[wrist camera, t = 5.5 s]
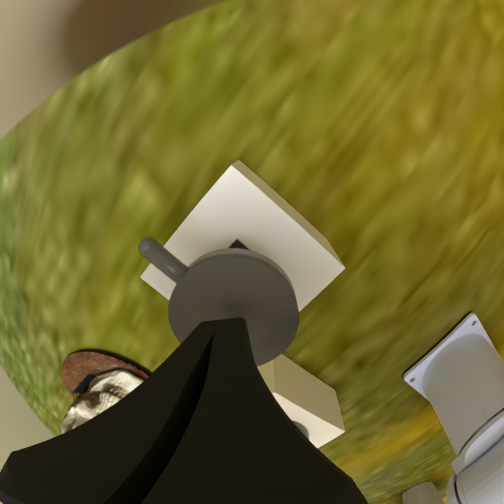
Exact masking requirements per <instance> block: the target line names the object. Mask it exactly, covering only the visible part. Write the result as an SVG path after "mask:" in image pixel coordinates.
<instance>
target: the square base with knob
mask: <svg viewBox="0 0 504 504" xmlns="http://www.w3.org/2000/svg"><path fill="white" fill-rule="evenodd" d="M164 248H165V249H167V250H168V251H169V252H170V253H171V254H173V255H174V256H175V257H176V258H178V259H179V260H180V261H181V262H182V263H184V264H185V265H186V266H187V267H188V266H189V265H190V264H191V263H192V262H193V261H195V260H196V259H197V258H199V257H201V256H202V255H204V254H207V253H209V252H212V251H215V250H219V249H226V248H240V249H247V250H251V251H254V252H257V253H259V254H262V255H264V256H266V257H268V258H269V259H271V260H272V261H274V262H275V263H276V264H278V265H279V266H280V267H281V268H282V269H283V270H284V272H285V273H286V274H287V276H288V277H289V279H290V281H291V283H292V285H293V288H294V291H295V295H296V300H297V305H298V310H299V311H301V310H302V309H303V308H304V307H305V306H306V305H307V304H308V303H309V302H310V301H311V300H312V299H314V298H315V297H316V296H317V295H318V294H319V293H320V292H321V291H322V290H323V289H324V288H325V287H326V286H327V285H328V284H329V283H331V282H332V281H333V280H334V279H335V278H336V277H337V276H338V275H339V274H340V273H341V272H342V271H343V270H344V269H345V267H344V265H343V264H342V262H341V260H340V259H339V257H338V256H337V254H336V253H335V251H334V249H333V248H332V246H331V245H330V243H329V242H328V240H327V239H326V238H325V237H324V236H323V235H322V234H321V233H320V232H319V231H318V230H317V229H316V228H315V227H314V226H313V225H311V224H310V223H309V222H308V221H307V220H306V219H305V218H304V217H303V216H302V215H301V214H300V213H299V212H297V211H296V210H295V209H294V208H293V207H292V206H291V205H290V204H289V203H288V202H287V201H285V200H284V199H283V198H282V197H281V196H280V195H279V194H278V193H277V192H275V191H274V190H273V189H272V188H271V187H270V186H269V185H268V184H266V183H265V182H264V181H263V180H262V179H261V178H260V177H258V176H257V175H256V174H255V173H254V172H253V171H252V170H250V169H249V168H248V167H247V166H246V165H245V164H243V163H242V162H241V161H240V160H239V159H238V160H237V161H236V162H234V163H233V164H232V165H231V166H230V167H229V168H228V169H227V170H226V172H225V173H224V174H223V175H222V176H221V177H220V178H219V180H218V181H217V182H216V183H215V184H214V185H213V187H212V188H211V189H210V190H209V191H208V193H207V194H206V195H205V196H204V197H203V198H202V200H201V201H200V202H199V203H198V204H197V206H196V207H195V208H194V209H193V210H192V212H191V213H190V214H189V215H188V217H187V218H186V219H185V220H184V221H183V223H182V224H181V225H180V226H179V228H178V229H177V230H176V231H175V233H174V234H173V235H172V236H171V238H170V239H169V240H168V241H167V243H166V244H165V245H164ZM140 278H142V279H143V280H144V281H145V282H147V283H148V284H149V285H150V286H152V287H153V288H154V289H155V290H157V291H158V292H159V293H160V294H162V295H163V296H164V297H165V298H167V299H168V300H169V301H170V297H171V294H172V292H173V290H174V288H175V286H176V283H175V282H174V281H173V280H171V279H170V278H169V277H168V276H166V275H165V274H164V273H163V272H161V271H160V270H159V269H158V268H156V267H155V266H154V265H153V264H152V263H150V265H149V266H148V267H147V269H146V270H145V271H144V273H143V274H142V275H141V277H140Z"/></svg>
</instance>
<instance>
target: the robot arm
mask: <svg viewBox="0 0 504 504" xmlns="http://www.w3.org/2000/svg"><path fill="white" fill-rule="evenodd" d="M473 321H474V322H473ZM403 378H404V380H405V381H406V382H407V383H408V384H409V385H410V386H412V387H413V388H414V389H415V390H416V391H418V392H419V393H420V394H421V395H422V396H423V397H425V398H426V399H427V400H428V401H429V402H430V403H431V405H432V407H433V409H434V411H435V413H436V415H437V417H438V419H439V421H440V423H441V425H442V427H443V429H444V431H445V433H446V435H447V437H448V439H449V441H450V443H451V445H452V447H453V450H454V452H455V454H456V456H457V458H456V459H455V460H454V461H453V462H451V465H452V467H453V470H454V472H455V473H453V474H452V475H451V476H450V478H449V481H448V486H447V494H446V495H447V503H448V504H504V360H503V359H502V357H501V356H500V355H499V354H498V353H497V351H496V349H495V347H494V345H493V344H492V342H491V340H490V338H489V336H488V335H487V333H486V331H485V329H484V328H483V326H482V324H481V323H480V321H479V319H478V318H477V316H476V315H475V314H474V313H470V314H469V315H467V317H466V318H465V319H464V320H463V321H462V322H461V323H460V324H459V325H458V326H457V327H456V328H455V329H454V330H453V331H452V332H451V333H450V334H449V335H448V336H446V337H445V338H444V339H443V340H442V341H441V342H440V343H439V344H438V345H437V346H436V347H435V348H434V349H433V350H431V351H430V352H429V353H428V354H427V355H426V356H425V357H424V358H422V359H421V360H420V361H419V362H418V363H417V364H415V365H414V366H413V367H412V368H411V369H410V370H408V371H407V372H406V373H405V374H404V376H403ZM0 501H1V502H2V503H3V504H368V502H367V501H366V499H365V497H364V496H363V494H362V493H361V491H360V490H359V489H358V487H357V486H356V484H355V482H354V481H353V479H352V478H351V477H350V476H348V475H347V474H346V473H345V472H343V471H342V470H341V469H340V468H338V467H337V466H336V465H335V464H334V463H333V462H331V461H330V460H329V459H328V458H327V457H326V456H325V455H324V454H323V453H321V452H320V451H319V450H318V449H317V448H316V447H315V446H314V445H313V444H312V443H311V442H310V441H309V440H308V439H307V437H306V436H305V435H304V434H303V433H302V432H301V431H300V429H299V428H298V427H297V426H296V425H295V424H294V422H293V421H292V420H291V419H290V418H289V417H288V415H287V414H286V413H285V411H284V410H283V409H282V407H281V406H280V405H279V403H278V402H277V400H276V399H275V397H274V396H273V394H272V393H271V391H270V390H269V388H268V386H267V385H266V383H265V381H264V379H263V377H262V376H261V374H260V372H259V370H258V368H257V366H256V363H255V361H254V357H253V352H252V347H251V343H250V338H249V333H248V329H247V324H246V320H245V319H244V318H242V317H237V318H228V319H220V320H211V321H202V322H201V323H200V324H199V325H198V326H197V327H196V328H195V329H194V330H193V331H192V332H191V333H190V334H189V336H188V337H187V338H186V339H185V340H184V341H183V342H182V343H181V344H180V345H179V347H178V348H177V349H176V350H175V351H174V352H173V353H172V354H171V355H170V356H169V357H168V358H167V359H166V360H165V361H164V362H163V363H162V364H161V365H160V366H159V367H158V368H157V369H156V370H155V371H154V372H153V373H152V374H151V375H150V376H149V377H147V378H146V379H145V380H144V381H143V382H142V383H141V384H140V385H138V386H137V387H136V388H135V389H134V390H132V391H131V392H130V393H129V394H127V395H126V396H125V397H123V398H122V399H121V400H119V401H118V402H117V403H115V404H114V405H112V406H111V407H109V408H108V409H106V410H104V411H103V412H101V413H100V414H98V415H96V416H95V417H93V418H92V419H90V420H88V421H87V422H85V423H83V424H81V425H79V426H77V427H75V428H73V429H71V430H70V431H67V432H65V433H63V434H61V435H59V436H56V437H54V438H52V439H50V440H47V441H44V442H41V443H38V444H36V445H33V446H30V447H27V448H24V449H21V450H18V451H14V452H12V453H11V454H10V456H9V457H8V459H7V461H6V463H5V464H4V466H3V468H2V470H1V472H0Z"/></svg>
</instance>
